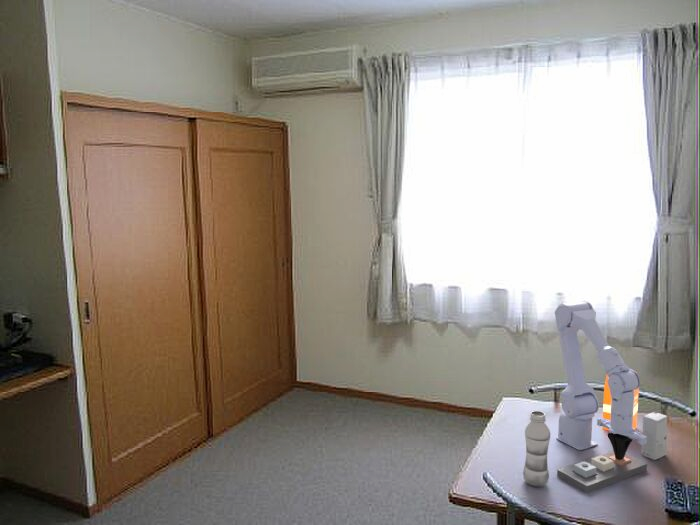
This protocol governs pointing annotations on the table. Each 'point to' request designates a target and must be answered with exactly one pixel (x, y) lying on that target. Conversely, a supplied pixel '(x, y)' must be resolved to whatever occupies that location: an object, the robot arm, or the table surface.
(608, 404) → the orange juice
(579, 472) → the grey blue key
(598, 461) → the cream key
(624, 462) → the terracotta key
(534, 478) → the plastic bottle
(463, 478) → the table surface
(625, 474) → the keypad
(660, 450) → the skincare box
